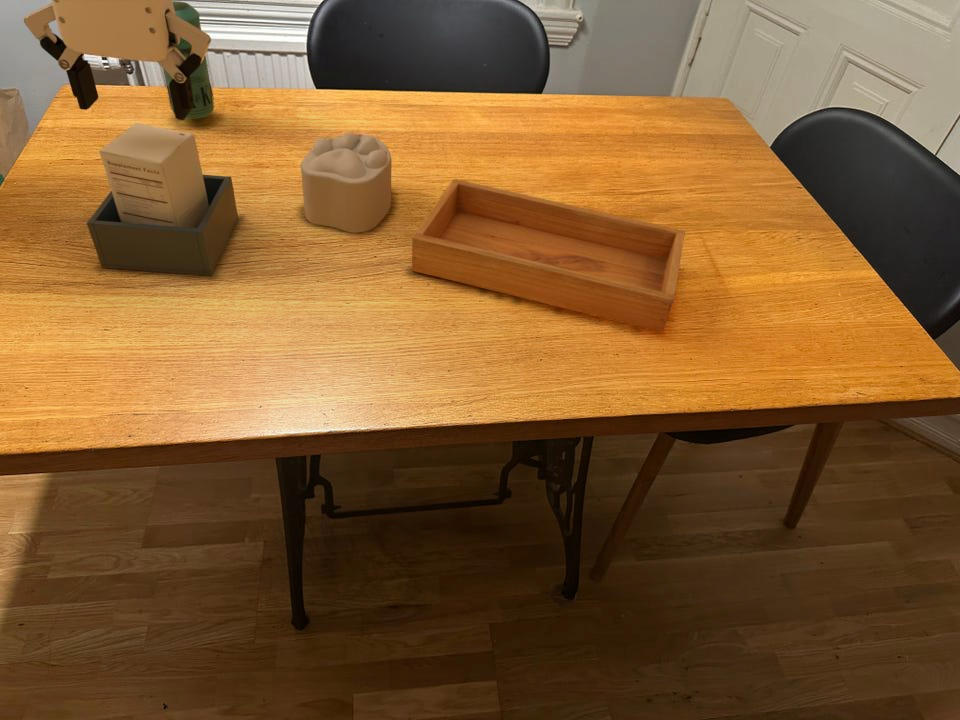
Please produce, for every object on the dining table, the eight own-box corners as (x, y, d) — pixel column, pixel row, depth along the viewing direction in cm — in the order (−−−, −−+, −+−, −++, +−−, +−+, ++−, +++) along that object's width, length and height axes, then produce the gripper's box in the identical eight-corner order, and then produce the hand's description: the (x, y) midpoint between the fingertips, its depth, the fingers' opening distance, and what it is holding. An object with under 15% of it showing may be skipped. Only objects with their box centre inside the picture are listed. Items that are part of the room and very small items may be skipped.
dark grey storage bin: (101, 267, 80) (86, 223, 76) (139, 210, 89) (128, 168, 85) (211, 275, 81) (202, 232, 77) (238, 218, 90) (231, 176, 86)
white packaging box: (160, 216, 88) (135, 120, 79) (215, 228, 87) (196, 132, 78) (126, 248, 82) (96, 149, 74) (185, 260, 82) (161, 161, 73)
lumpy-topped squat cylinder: (295, 219, 91) (289, 158, 85) (335, 174, 100) (332, 116, 94) (370, 236, 90) (369, 176, 84) (404, 189, 99) (405, 131, 93)
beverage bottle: (163, 119, 108) (131, -24, 94) (199, 106, 112) (173, -32, 98) (191, 133, 105) (163, -11, 92) (227, 119, 109) (204, -20, 96)
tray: (410, 273, 85) (412, 233, 81) (451, 212, 96) (453, 175, 92) (660, 338, 80) (674, 300, 76) (672, 267, 91) (685, 230, 87)
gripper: (206, -74, 65) (229, 103, 77) (13, -99, 64) (67, 85, 76) (181, -53, 60) (210, 134, 72) (-30, -80, 59) (35, 115, 70)
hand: (137, 109), depth 74 cm, fingers open, 9 cm apart
